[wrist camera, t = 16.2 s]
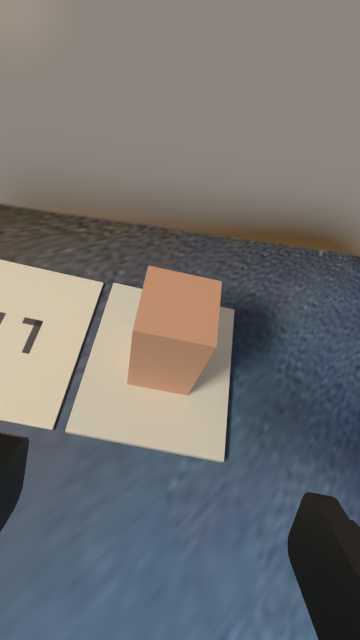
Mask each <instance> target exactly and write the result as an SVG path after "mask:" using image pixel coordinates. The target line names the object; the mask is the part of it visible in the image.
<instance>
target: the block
mask: <svg viewBox="0 0 360 640" xmlns="http://www.w3.org/2000/svg"><path fill="white" fill-rule="evenodd" d="M221 285H222V281H217V280H212V279H208V278H203V277H198V276H194V275H189V274H185V273H180V272H175V271H171V270H166V269H162V268H157V267H152V266H148V269H147V273H146V277H145V281H144V285H143V290H142V294H141V298H140V302H139V306H138V310H137V314H136V319H135V323H134V327H133V332H132V341H131V351H130V360H129V370H128V379H127V384H128V385H134V386H139V387H144V388H150V389H155V390H160V391H166V392H171V393H176V394H182V395H188V394H189V392H190V390H191V389H192V387H193V385H194V384H195V382H196V380H197V379H198V377H199V376H200V374H201V372H202V371H203V369H204V367H205V366H206V364H207V362H208V361H209V359H210V357H211V356H212V354H213V352H214V351H215V349H216V348H217V336H218V323H219V310H220V298H221Z"/></svg>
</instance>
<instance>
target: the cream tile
mask: <svg viewBox="0 0 360 640" xmlns="http://www.w3.org/2000/svg"><path fill="white" fill-rule="evenodd" d="M102 287H103V283H102V282H97V281H93V280H88V279H84V278H79V277H75V276H71V275H66V274H62V273H57V272H53V271H48V270H44V269H39V268H35V267H30V266H26V265H21V264H17V263H13V262H8V261H4V260H0V420H1V421H6V422H11V423H17V424H22V425H27V426H32V427H38V428H43V429H48V430H53V428H54V425H55V422H56V419H57V416H58V413H59V411H60V408H61V405H62V402H63V399H64V396H65V393H66V390H67V388H68V385H69V382H70V379H71V376H72V373H73V370H74V367H75V365H76V362H77V359H78V356H79V353H80V350H81V347H82V344H83V342H84V339H85V336H86V333H87V330H88V327H89V324H90V321H91V319H92V316H93V313H94V310H95V307H96V304H97V301H98V298H99V296H100V293H101V290H102Z"/></svg>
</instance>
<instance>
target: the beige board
mask: <svg viewBox="0 0 360 640" xmlns="http://www.w3.org/2000/svg"><path fill="white" fill-rule="evenodd" d="M142 290H143V289H140V288H135V287H131V286H126V285H122V284H117V283H113V286H112V289H111V292H110V295H109V299H108V302H107V305H106V308H105V311H104V314H103V317H102V320H101V323H100V326H99V329H98V332H97V335H96V338H95V341H94V344H93V347H92V350H91V354H90V357H89V360H88V363H87V366H86V369H85V372H84V375H83V378H82V381H81V384H80V387H79V390H78V393H77V396H76V399H75V402H74V405H73V409H72V412H71V415H70V418H69V421H68V424H67V427H66V430H65V432H66V433H69V434H75V435H80V436H85V437H90V438H96V439H101V440H106V441H111V442H117V443H122V444H127V445H132V446H138V447H143V448H148V449H153V450H159V451H164V452H169V453H174V454H180V455H185V456H190V457H195V458H201V459H206V460H211V461H216V462H224V454H225V439H226V425H227V410H228V396H229V382H230V367H231V353H232V338H233V324H234V310H233V309H229V308H224V307H220V310H219V323H218V336H217V348H216V349H215V351H214V352H213V354H212V356H211V357H210V359H209V361H208V362H207V364H206V366H205V367H204V369H203V371H202V372H201V374H200V376H199V377H198V379H197V380H196V382H195V384H194V385H193V387H192V389H191V390H190V392H189V394H188V395H182V394H176V393H171V392H166V391H160V390H155V389H150V388H144V387H139V386H134V385H128V384H127V379H128V370H129V360H130V351H131V341H132V332H133V327H134V323H135V319H136V314H137V310H138V306H139V302H140V298H141V294H142Z"/></svg>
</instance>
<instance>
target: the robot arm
mask: <svg viewBox="0 0 360 640" xmlns="http://www.w3.org/2000/svg"><path fill="white" fill-rule="evenodd" d="M28 446H29V439H28V438H27V437H22V436H17V435H12V434H7V433H1V432H0V532H1V530H2V528H3V527H4V525H5V523H6V522H7V520H8V518H9V517H10V515H11V513H12V512H13V510H14V508H15V506H16V504H17V502H18V499H19V497H20V494H21V490H22V486H23V481H24V474H25V467H26V460H27V453H28ZM288 555H289V559H290V562H291V565H292V568H293V570H294V573H295V576H296V579H297V582H298V584H299V587H300V590H301V593H302V595H303V598H304V601H305V604H306V606H307V609H308V612H309V615H310V617H311V620H312V623H313V626H314V628H315V631H316V634H317V637H318V639H319V640H360V527H359V526H358V525H357V524H356V523H355V522H354V521H353V520H350V519H349V518H348V516H347V515H346V513H345V511H344V510H343V508H342V507H341V505H340V503H339V502H338V501H337V499H336V498H334V497H331V496H326V495H321V494H315V493H310V492H307V493H305V494H304V496H303V498H302V500H301V503H300V506H299V508H298V511H297V514H296V516H295V519H294V522H293V524H292V527H291V530H290V533H289V536H288Z"/></svg>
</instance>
